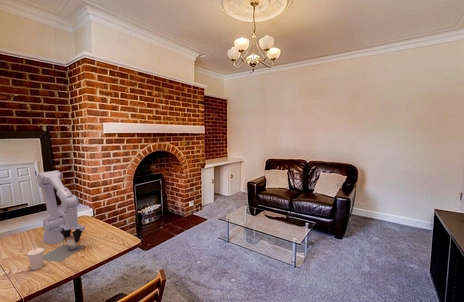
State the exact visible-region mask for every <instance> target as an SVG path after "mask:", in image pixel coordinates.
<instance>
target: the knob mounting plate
mask: <svg viewBox="0 0 464 302" xmlns="http://www.w3.org/2000/svg"><path fill="white" fill-rule="evenodd" d="M84 247H85V246H83V245H77V243H76V244H74V245H67V244H61V245H60V246H58V247H56V248H55V249H52V250H51V251H49V252H47V253H46V254H44V256H43V261H48V262H49V261H50V262H57V263H58V262H59V263H61V262H63V261H65V260H66V259H67V258H69V257H71V256H72V255H73V254H76V253H77V252H78V251H80V250H82V249H83V248H84Z"/></svg>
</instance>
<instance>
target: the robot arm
mask: <svg viewBox="0 0 464 302" xmlns="http://www.w3.org/2000/svg"><path fill="white" fill-rule="evenodd" d="M61 179H62V174H61V172H60V171H59V170H57V169H56V170H52V171H45V172H38V173H37V175H36V180H37V185H38V187H39V188H41V189H42V192H43V198H44V203H45V206H46V210H47V215H46V216H45V217H44V218H43V219H42V227H43V230H44V232H43V234H42V237H43V243H44V244H49V245H56V244H60V243H62V242H63V241H64V240H65V243H67V237H68V236H71V235H74V239H75V243H76V244H78V243H79V242H80V241H81V236H82V234H83V232H84V230H85V229H86V226H85V225H81V224H79V220H78V219H79V218H78V206H79V205H80V204H79V203H80V199H79V197H78V196H77V195H75V194H72V192H71V190H70V189H69V188H68V187H65V185H64V184H63V183H62V180H61ZM54 189H55V190H56V194H55V190H54ZM56 196H57V197H58V198H59V200H60V201H61V203H60V204H61V207H62V211H63V212H60V211H59V209H58V203H57V200H56V199H57V198H56ZM72 230H73V231H72ZM77 242H78V243H77Z"/></svg>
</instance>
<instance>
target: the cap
mask: <svg viewBox="0 0 464 302" xmlns="http://www.w3.org/2000/svg"><path fill="white" fill-rule="evenodd" d="M78 243H79V242H77V243H75V239H74V235H73V234H71V236H68V237H67V242H66V245H74V244H76V245H77V244H78Z"/></svg>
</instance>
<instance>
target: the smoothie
mask: <svg viewBox="0 0 464 302" xmlns="http://www.w3.org/2000/svg"><path fill="white" fill-rule="evenodd" d="M32 245H33V246H32V247H33V249H30V251H28V252H27V253H26V256H27V258H28V261H29V265H30V267H31V270H32V271H36V270H39V269H41V268H42V267H43V266H44V265H43V264H44V260H43V256H44V255H45V252H46V251H45V248H44V247H37V248H36V244H35V242H33V244H32Z"/></svg>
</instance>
